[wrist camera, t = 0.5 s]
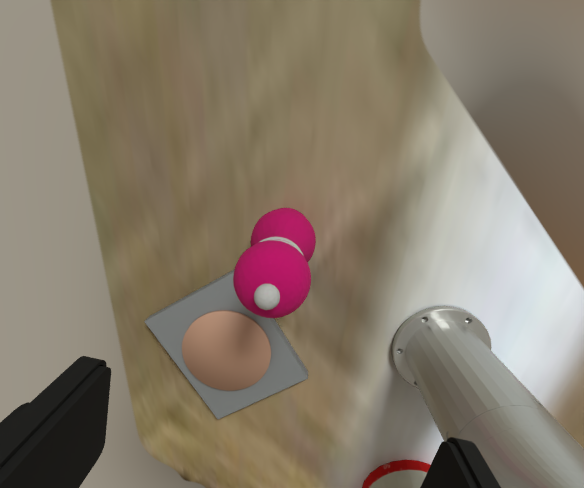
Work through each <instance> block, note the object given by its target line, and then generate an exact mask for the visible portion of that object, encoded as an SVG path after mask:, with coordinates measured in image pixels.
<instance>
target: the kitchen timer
mask: <svg viewBox="0 0 584 488" xmlns="http://www.w3.org/2000/svg"><path fill="white" fill-rule="evenodd" d="M430 466H431V465H430V464H426V463H423V462H420V461H414V460H400V461H393V462H390V463H387V464H385V465H382V466H380V467H378V468H377V469H376V470H374V471H373V472H371V473H370V475H369V476H368V477H367V478H366V480H365V481H364V483H363V486H362V488H420V487H421V485H422V483H423V481H424V479H425V477H426V474H427V472H428V470H429V468H430Z"/></svg>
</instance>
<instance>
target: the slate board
mask: <svg viewBox="0 0 584 488" xmlns="http://www.w3.org/2000/svg"><path fill="white" fill-rule="evenodd" d="M233 276H234V270H233V271H231V272H229V273H227V274H226V275H224V276H222V277H220V278H218V279H216V280H215V281H213V282H211V283H209V284H207V285H206V286H204V287H202V288H200V289H198V290H196V291H195V292H193V293H191V294H189V295H187V296H185V297H184V298H182V299H180V300H178V301H176V302H175V303H173V304H171V305H169V306H167V307H165V308H164V309H162V310H160V311H158V312H156V313H155V314H153V315H151V316H149V317H148V318H147V319H146V320H145V321H144V322H145V323H146V324H147V326H148V327H149V328H150V330H151V331H152V332H153V334H154V335H155V336H156V338H157V339H158V340H159V342H160V343H161V344H162V346H163V347H164V348H165V350H166V351H167V352H168V354H169V355H170V356H171V358H172V359H173V360H174V362H175V363H176V364H177V366H178V367H179V368H180V370H181V371H182V372H183V374H184V375H185V376H186V378H187V379H188V380H189V382H190V383H191V384H192V386H193V387H194V388H195V390H196V391H197V392H198V394H199V395H200V396H201V398H202V399H203V400H204V402H205V403H206V404H207V406H208V407H209V408H210V410H211V411H212V412H213V414H214V415H215V416H216V418H217V419H220V418H222V417H224V416H226V415H229V414H231V413H233V412H235V411H237V410H240V409H242V408H244V407H246V406H248V405H251V404H253V403H255V402H257V401H259V400H262V399H264V398H266V397H268V396H270V395H272V394H275V393H277V392H279V391H281V390H283V389H286V388H288V387H290V386H292V385H294V384H297V383H299V382H301V381H303V380H305V379H308V371H307V369H306V368H305V366H304V364H303V363H302V361H301V360H300V358H299V357H298V355H297V354H296V352H295V350H294V349H293V347H292V346H291V344H290V343H289V341H288V340H287V338H286V337H285V335H284V333H283V332H282V330H281V329H280V327H279V326H278V324H277V323H276V321H275V319H274V318H265V317H261V316H259V315H256V314H254V313H252V312H251V311H249V310H248V309H246V308H245V307H244V306H243V305H242V303H241V302H240V300H239V299H238V297H237V294H236V292H235V289H234V284H233Z"/></svg>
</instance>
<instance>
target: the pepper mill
mask: <svg viewBox="0 0 584 488" xmlns="http://www.w3.org/2000/svg"><path fill="white" fill-rule="evenodd" d="M315 243H316V241H315V233H314V230H313V227H312V226H311V224H310V222H309V221H308V220H307V219H306V218H305V216H304V215H303V214H302V213H300V212H298V211H297V210H294V209H291V208H281V209H277V210H273V211H271V212H269V213H267V214H265V215H264V216H263V217H261V218H260V219H259V221H258V222H257V223H256V225H255V227H254V229H253V232H252V236H251V247H250V248H249V249H247V250H246V251H245V252H244V253H243V254H242V255H241V257H240V258H239V260H238V262H237V264H236V267H235V270H234V276H233V284H234V289H235V292H236V294H237V297H238V299H239V300H240V302H241V303H242V305H243V306H244V307H245V308H246V309H248V310H249V311H251V312H252V313H254V314H256V315H259V316H261V317H265V318H279V317H283V316H285V315H288V314H290V313H292V312H293V311H295V310H296V309H297V308H298V307H300V305H301V304H302V303H303V302H304V300H305V299H306V297H307V295H308V292H309V289H310V284H311V274H310V269H309V266H308V261H309V260H310V259H311V257H312V255H313V252H314V249H315Z"/></svg>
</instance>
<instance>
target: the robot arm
mask: <svg viewBox="0 0 584 488" xmlns="http://www.w3.org/2000/svg"><path fill="white" fill-rule="evenodd" d="M392 356H393V361H394V363H395V366H396V368H397V370H398V372H399V374H400V375H401V376H402V377H403V378H404V380H405V381H407V382H408V383H409V384H411V385H412V386H414V387H416V388H418V389H419V390H420V392H421V394H422V396H423V398H424V400H425V402H426V404H427V406H428V408H429V410H430V413H431V415H432V417H433V419H434V421H435V423H436V425H437V427H438V429H439V431H440V433H441V436H442V438H443V440H444V442H442V443H441V445H440V447H439V449H438V451H437V453H436V455H435V457H434V460H433V462H432V464H431V466H430V468H429V470H428V472H427V474H426V477H425V479H424V481H423V483H422V485H421V487H420V488H584V448H583V447H582V446H581V445H580V444H579V443H578V442H577V441H576V440H575V439H574V438H573V437H572V436H571V435H570V434H569V433H568V432H567V431H566V430H565V429H564V427H563V426H562V425H561V424H560V423H559V422H558V421H557V420H556V419H555V418H554V417H553V416H552V415H551V414H550V413H549V412H548V411H547V410H546V408H545V407H544V406H543V405H542V404H541V403H540V402H539V401H538V400H537V399H536V398H535V397H534V396H533V395H532V394H531V393H530V391H529V390H528V389H527V388H526V387H525V386H524V385H523V384H522V383H521V382H520V381H519V380H518V379H517V378H516V377H515V376H514V375H513V373H512V372H511V371H510V370H509V369H508V368H507V367H506V366H505V365H504V364H503V363H502V362H501V361H500V360H499V359H498V358H497V356H496V355H495V354H494V353H493V352H492V351H491V339H490V336H489V333H488V331H487V329H486V328H485V326H484V325H483V324H482V323H481V322H480V321H479V320H478V319H477V318H476V317H475V316H474V315H472V314H471V313H469V312H467V311H465V310H463V309H460V308H456V307H450V306H437V307H432V308H428V309H425V310H422V311H420V312H418V313H416V314H414V315H413V316H411V317H410V318H409V319H408V320H406V321H405V322H404V323H403V324H402V326H401V327H400V328H399V330H398V331H397V333H396V335H395V337H394V341H393V345H392ZM110 378H111V369H110V368H108V367H106V362H105V361H104V360H99V359H95V358H90V357H86V356H82V357H80V358H79V359H77V360H76V361H75V362H74V363H73V364H72V365H71V366H70V367H69V368H68V369H66V370H65V371H64V372H63V373H62V374H61V375H60V376H59V377H58V378H57V379H56V380H54V381H53V382H52V383H51V384H50V385H49V386H48V387H47V388H46V389H45V390H43V391H42V392H41V393H40V394H39V395H38V396H37V397H36V398H35V399H34V400H33V401H32V402H30V403H25V404H23V405H21V406H19V407H18V408H17V409H15V410H14V411H13V412H12V413H11V414H10V415H9V416H7V417H6V418H5V419H4V420H3V421H2V422H1V423H0V488H79V487H80V485H81V484H82V482H83V481H84V479H85V478H86V476H87V475H88V473H89V472H90V470H91V469H92V467H93V466H94V464H95V463H96V461H97V460H98V458H99V456H100V455H101V453H102V450H103V448H104V444H105V436H106V425H107V413H108V402H109V390H110Z"/></svg>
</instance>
